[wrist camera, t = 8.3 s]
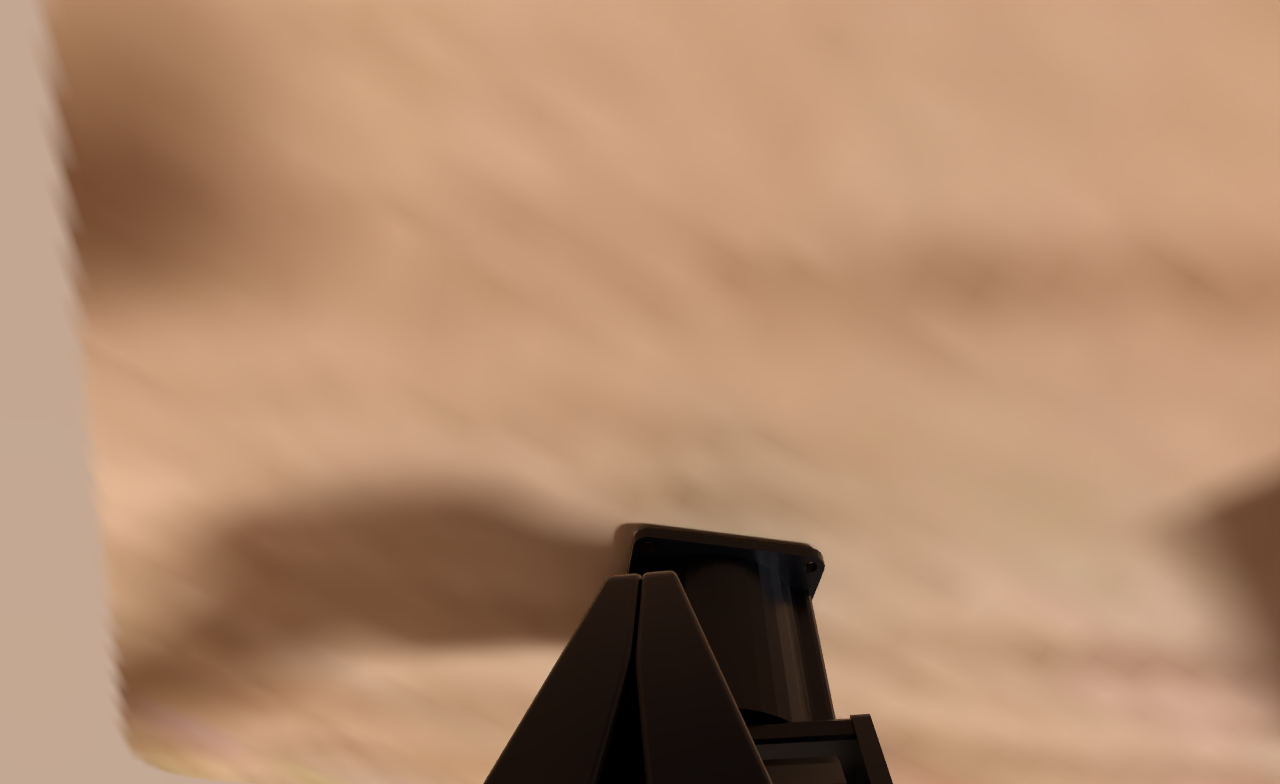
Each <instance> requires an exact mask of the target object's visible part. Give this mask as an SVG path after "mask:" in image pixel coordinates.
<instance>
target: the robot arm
mask: <svg viewBox="0 0 1280 784" xmlns="http://www.w3.org/2000/svg"><path fill="white" fill-rule="evenodd" d="M645 542H651V543H653V544H644V543H645ZM807 562H813V563H810V564H805V563H807ZM824 567H825V564H824V560H823V556H822V554H821V552H819V551H818V550H816V549H812V548H805V547H797V546H789V545H781V544H773V543H765V542H756V541H748V540H740V539H732V538H724V537H716V536H708V535H700V534H692V533H684V532H676V531H668V530H660V529H652V528H645V529H642V530H639V531H638V532H637V533H636V534H635V536H634V539H633V544H632V550H631V555H630V561H629V566H628V572H627V574H622V575H613V576H610V577H608V578H607V579H606V581H605V582H604V584H603V586H602V587H601V589H600V590H599V592H598V594H597V595H596V597H595V599H594V600H593V602H592V604H591V605H590V607H589V609H588V610H587V612H586V614H585V615H584V617H583V619H582V620H581V622H580V624H579V625H578V627H577V629H576V630H575V632H574V634H573V635H572V637H571V639H570V640H569V642H568V644H567V645H566V647H565V649H564V650H563V652H562V654H561V655H560V657H559V659H558V660H557V662H556V664H555V665H554V667H553V669H552V670H551V672H550V674H549V675H548V677H547V679H546V680H545V682H544V684H543V685H542V687H541V689H540V690H539V692H538V694H537V695H536V697H535V699H534V700H533V702H532V704H531V705H530V707H529V709H528V710H527V712H526V714H525V715H524V717H523V719H522V720H521V722H520V724H519V725H518V727H517V729H516V730H515V732H514V734H513V735H512V737H511V739H510V740H509V742H508V744H507V745H506V747H505V749H504V750H503V752H502V754H501V755H500V757H499V759H498V760H497V762H496V764H495V765H494V767H493V769H492V770H491V772H490V774H489V775H488V777H487V779H486V780H485V782H484V784H893V782H892V779H891V776H890V773H889V770H888V767H887V764H886V761H885V758H884V755H883V752H882V749H881V746H880V743H879V740H878V737H877V734H876V731H875V728H874V725H873V722H872V719H871V716H870V714H861V715H850V719H835V714H834V709H833V704H832V699H831V694H830V689H829V684H828V679H827V674H826V669H825V664H824V659H823V654H822V649H821V645H820V640H819V635H818V630H817V625H816V620H815V615H814V610H813V605H812V599H813V596H814V594H815V591H816V589H817V586H818V584H819V581H820V579H821V576H822V574H823V571H824Z"/></svg>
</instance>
